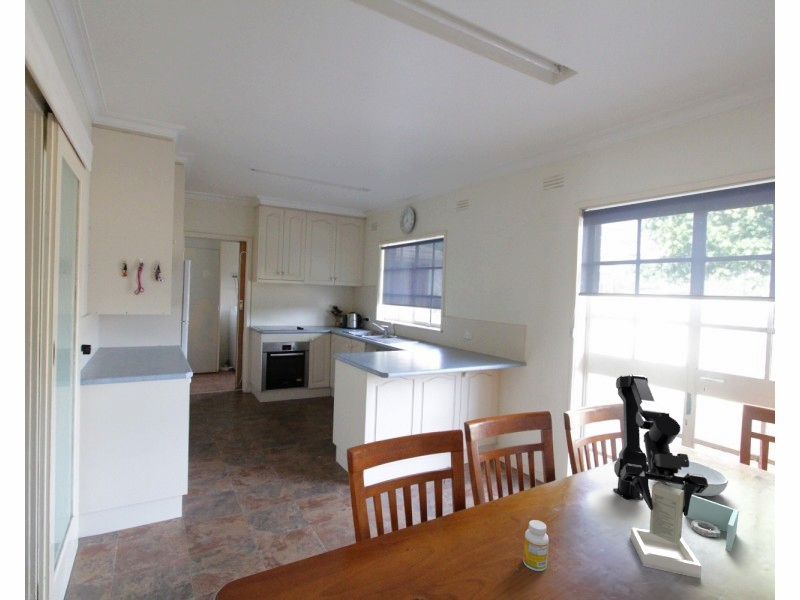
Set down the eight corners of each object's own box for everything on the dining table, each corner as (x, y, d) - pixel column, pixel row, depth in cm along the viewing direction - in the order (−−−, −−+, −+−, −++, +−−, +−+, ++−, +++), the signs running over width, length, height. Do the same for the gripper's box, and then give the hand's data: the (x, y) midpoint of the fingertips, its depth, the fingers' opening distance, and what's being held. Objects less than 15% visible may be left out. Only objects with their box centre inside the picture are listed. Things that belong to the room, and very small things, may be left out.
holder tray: (630, 537, 113) (631, 527, 112) (680, 547, 109) (681, 536, 109) (643, 566, 101) (644, 554, 101) (700, 578, 98) (701, 565, 98)
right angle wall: (685, 517, 126) (688, 493, 126) (735, 536, 118) (738, 510, 118) (676, 532, 118) (679, 506, 118) (730, 553, 109) (733, 526, 109)
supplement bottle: (526, 553, 103) (528, 515, 103) (548, 562, 100) (551, 523, 100) (520, 565, 98) (523, 525, 98) (543, 575, 96) (547, 534, 95)
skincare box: (681, 538, 104) (686, 490, 104) (676, 545, 101) (681, 496, 101) (652, 526, 109) (657, 480, 108) (647, 532, 106) (651, 485, 105)
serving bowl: (722, 486, 148) (724, 467, 148) (730, 512, 130) (732, 490, 130) (653, 469, 159) (655, 452, 159) (652, 491, 141) (654, 471, 141)
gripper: (627, 433, 110) (635, 494, 100) (708, 445, 105) (725, 510, 95) (617, 451, 118) (624, 509, 108) (693, 462, 113) (707, 524, 103)
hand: (668, 512), depth 104 cm, fingers closed on skincare box, 7 cm apart
